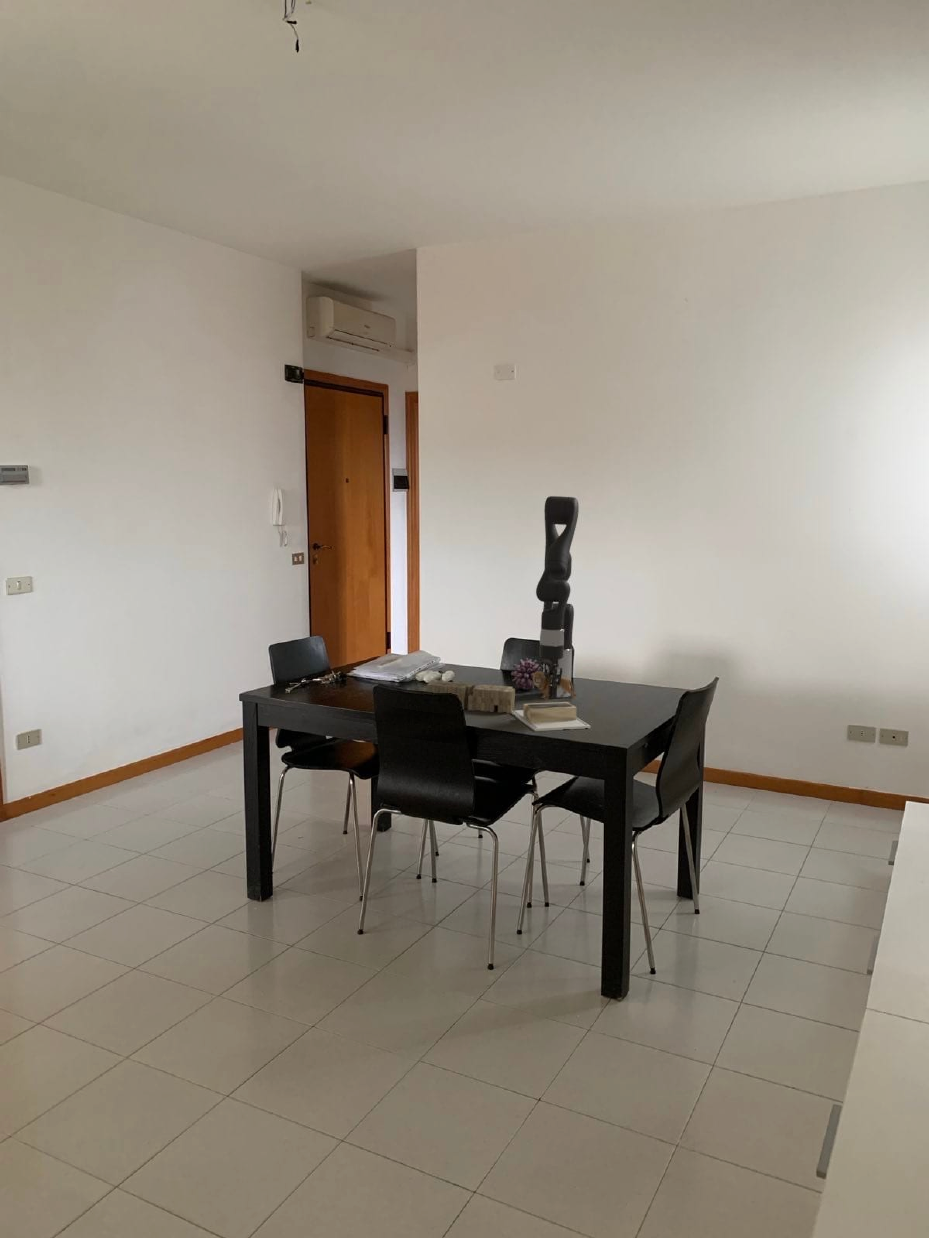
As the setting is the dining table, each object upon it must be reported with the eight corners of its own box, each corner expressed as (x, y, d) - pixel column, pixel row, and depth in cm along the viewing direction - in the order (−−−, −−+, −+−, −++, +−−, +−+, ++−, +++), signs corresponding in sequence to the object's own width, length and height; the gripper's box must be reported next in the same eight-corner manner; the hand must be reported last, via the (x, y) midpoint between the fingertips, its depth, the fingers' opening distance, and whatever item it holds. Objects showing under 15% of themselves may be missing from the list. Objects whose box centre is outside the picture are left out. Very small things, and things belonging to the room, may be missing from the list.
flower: (542, 687, 341) (543, 655, 340) (542, 693, 329) (543, 661, 328) (511, 685, 342) (512, 654, 341) (510, 692, 331) (510, 660, 329)
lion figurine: (534, 700, 285) (535, 672, 284) (530, 697, 290) (530, 669, 289) (579, 699, 288) (580, 671, 287) (573, 696, 293) (574, 668, 292)
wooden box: (523, 716, 292) (523, 703, 291) (567, 714, 295) (567, 701, 295) (531, 722, 284) (531, 709, 283) (576, 719, 288) (576, 707, 287)
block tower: (515, 711, 306) (433, 702, 314) (517, 687, 305) (434, 678, 313) (510, 716, 298) (426, 706, 306) (511, 691, 297) (427, 682, 305)
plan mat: (511, 713, 299) (511, 710, 299) (562, 710, 304) (562, 707, 303) (535, 731, 276) (535, 728, 276) (590, 728, 281) (590, 725, 281)
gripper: (533, 639, 292) (531, 692, 295) (548, 646, 279) (546, 701, 281) (555, 639, 294) (553, 691, 297) (571, 646, 281) (569, 700, 283)
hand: (550, 695), depth 289 cm, fingers closed on lion figurine, 4 cm apart
